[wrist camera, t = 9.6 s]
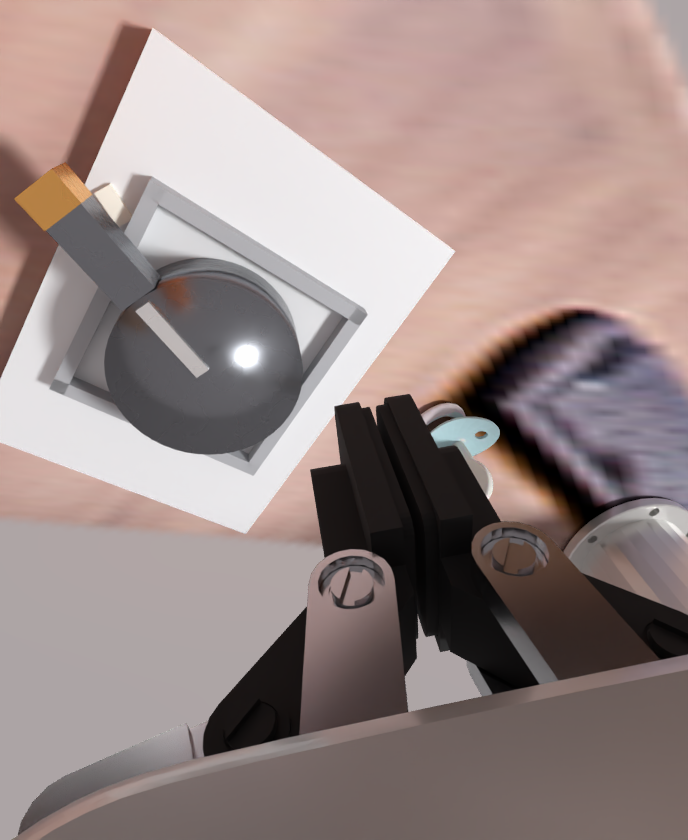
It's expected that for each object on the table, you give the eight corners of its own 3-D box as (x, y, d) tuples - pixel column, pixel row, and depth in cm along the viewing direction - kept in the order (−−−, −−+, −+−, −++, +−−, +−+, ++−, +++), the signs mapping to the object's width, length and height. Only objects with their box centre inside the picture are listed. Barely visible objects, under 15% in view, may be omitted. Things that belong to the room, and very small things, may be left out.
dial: (328, 361, 34) (339, 394, 30) (199, 444, 35) (194, 485, 32) (141, 105, 25) (124, 110, 22) (-17, 230, 27) (-57, 253, 24)
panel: (446, 244, 33) (461, 256, 30) (245, 519, 41) (245, 543, 39) (157, 30, 25) (149, 26, 23) (-13, 419, 34) (-31, 443, 32)
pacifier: (379, 463, 41) (444, 488, 43) (396, 519, 36) (470, 545, 38) (432, 383, 38) (500, 414, 40) (460, 432, 33) (536, 464, 35)
